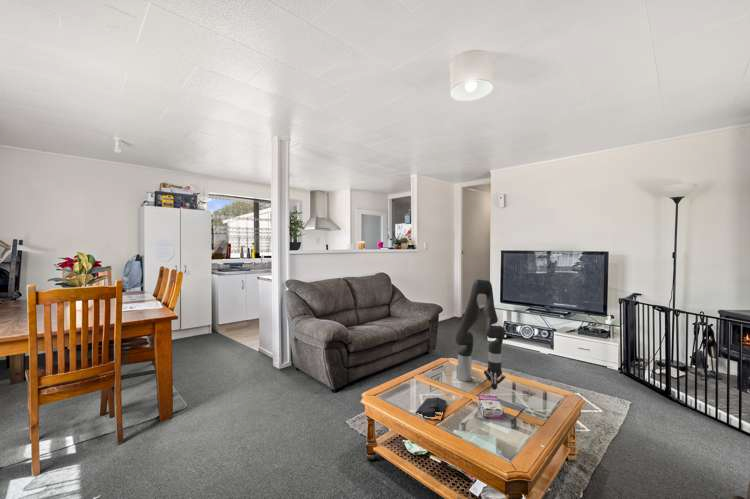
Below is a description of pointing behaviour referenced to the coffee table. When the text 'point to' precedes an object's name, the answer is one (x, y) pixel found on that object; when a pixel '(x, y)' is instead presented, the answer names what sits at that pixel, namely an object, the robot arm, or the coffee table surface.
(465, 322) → the robot arm
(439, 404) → the dark slate chunk
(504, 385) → the coffee table surface
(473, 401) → the coffee table surface
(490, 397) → the candy bar box
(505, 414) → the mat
